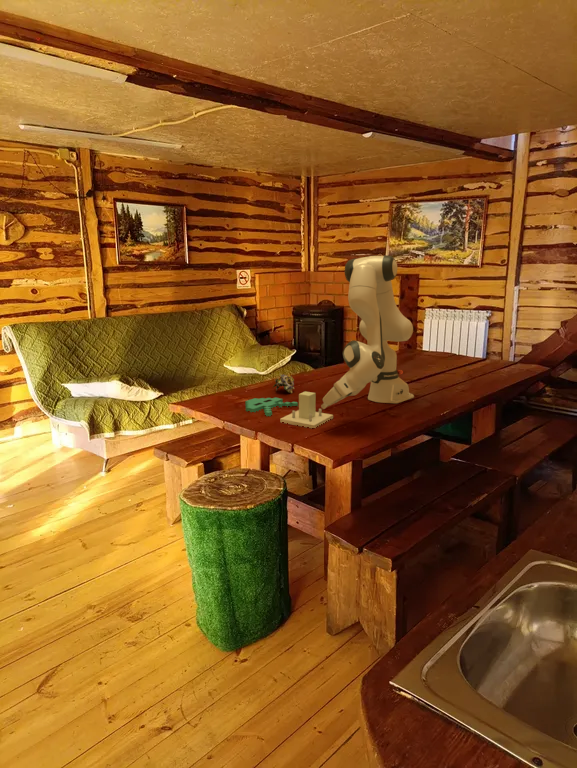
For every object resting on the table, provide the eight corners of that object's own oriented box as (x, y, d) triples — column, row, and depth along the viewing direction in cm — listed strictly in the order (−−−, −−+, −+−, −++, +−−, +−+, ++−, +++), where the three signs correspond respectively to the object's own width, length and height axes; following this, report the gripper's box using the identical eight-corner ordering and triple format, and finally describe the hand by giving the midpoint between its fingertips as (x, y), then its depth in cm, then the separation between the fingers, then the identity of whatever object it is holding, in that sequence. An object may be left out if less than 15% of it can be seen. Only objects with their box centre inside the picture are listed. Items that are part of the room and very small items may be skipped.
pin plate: (300, 412, 240) (300, 402, 239) (333, 418, 232) (333, 408, 230) (280, 422, 227) (280, 411, 226) (314, 428, 218) (314, 418, 217)
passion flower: (290, 403, 272) (291, 388, 263) (269, 398, 274) (269, 383, 265) (296, 386, 279) (297, 371, 270) (275, 381, 281) (276, 366, 272)
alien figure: (297, 407, 249) (264, 399, 262) (297, 402, 249) (264, 395, 261) (268, 417, 234) (235, 409, 247) (268, 412, 234) (234, 404, 246)
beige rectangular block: (305, 414, 232) (305, 391, 230) (315, 416, 230) (315, 393, 227) (298, 417, 228) (298, 394, 226) (309, 419, 225) (309, 395, 223)
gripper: (357, 372, 223) (336, 392, 231) (333, 383, 207) (311, 404, 214) (367, 384, 222) (345, 404, 230) (344, 396, 205) (321, 417, 213)
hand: (328, 404), depth 222 cm, fingers open, 8 cm apart
